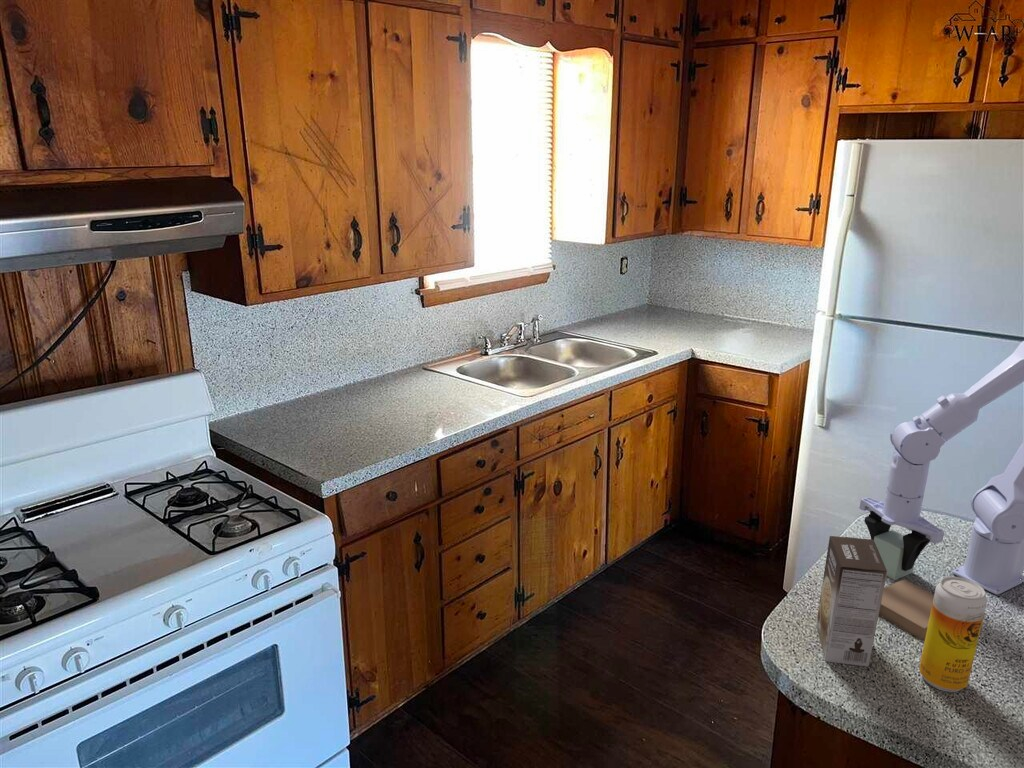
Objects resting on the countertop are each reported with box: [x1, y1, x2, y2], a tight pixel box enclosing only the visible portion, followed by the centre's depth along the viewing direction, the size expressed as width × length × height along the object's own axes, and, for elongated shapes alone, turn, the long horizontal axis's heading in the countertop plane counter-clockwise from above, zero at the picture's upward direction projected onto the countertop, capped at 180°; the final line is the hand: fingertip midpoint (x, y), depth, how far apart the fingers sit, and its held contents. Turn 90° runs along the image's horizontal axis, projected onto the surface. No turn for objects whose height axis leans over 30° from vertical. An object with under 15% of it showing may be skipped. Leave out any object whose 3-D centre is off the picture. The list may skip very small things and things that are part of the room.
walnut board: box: [879, 578, 935, 641], centre depth 123 cm, size 10×10×2 cm
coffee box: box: [815, 535, 887, 667], centre depth 113 cm, size 9×6×16 cm
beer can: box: [918, 576, 988, 693], centre depth 106 cm, size 6×6×15 cm
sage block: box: [874, 529, 915, 581], centre depth 135 cm, size 5×5×6 cm
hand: (892, 561), depth 135 cm, fingers closed on sage block, 5 cm apart
